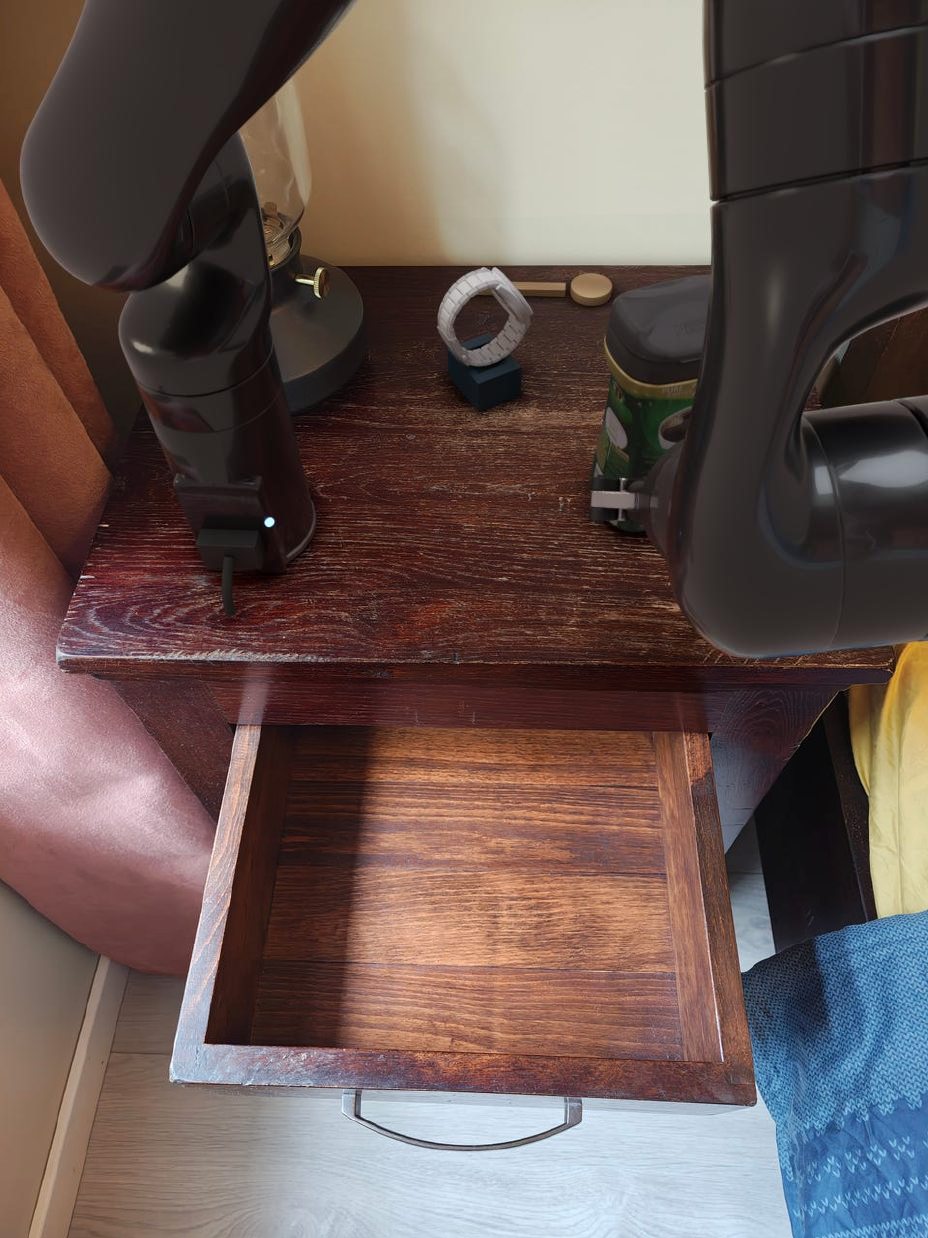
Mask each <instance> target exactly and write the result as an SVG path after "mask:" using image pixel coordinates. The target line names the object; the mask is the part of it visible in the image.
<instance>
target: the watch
mask: <svg viewBox="0 0 928 1238" xmlns="http://www.w3.org/2000/svg"><path fill="white" fill-rule="evenodd" d="M512 282H513V281H511V279H509V278H508V277H507V275H505V273H504V272H502V271H501V270H499V269H498V268H497V267H496V266H494V267H492V269H491V270H490V269H488V268H487V267H484V266H483V267H481V268H479V269H476V270H472V271H470V272H468V273H466V274H465V275H463V276H461V277H460V278H459V279H457V280H456V282H454V283H453V284H452V285H451V287H450V288H449V289H448V291H447V292H446V293H445V295H444V297H443V298H442V301H441V302H440V306H439V309H438V313H437V324H438V325H437V326H436V328H437V330H438V333H439V335H440V337H441V339H442V341H443V342H444V343H445V344H446V346H447V347H448V348H447V367H448V378H449V379H450V380H451V382H453V384H454V385H455V387H457V388H458V390H459V391H460V392H461V393H462V394H463V395H464V396H465V398H466V399H467V401H468V402H470V404H471V405H472V406H473V407H474V409H475V410H476V411H477V412H478V413H481V412H482V411H483V412H484V411H486V410H488V409H491V408H493V407H496V406H498V405H500V404H503V403H506V402H508V401H511V400H513V399H516V398H519V397H521V396H522V375H523V374H522V371H523V370H522V369H523V367H522V365H521V364H520V363H519V362H518V361H517V360H516V359H515V358H514V357H513V356H512V355H511V352H513V351H514V350H515V349H516V348H517V347H518V345H519V343H520V342H521V341H522V340H523V338H524V336H525V334H526V332H527V330H528V329H529V328H530V326H531V318H530V317H531V316H532V315H533V314H534V312H533V309H532V308H531V306H530V304H529V303H528V300H526V298H525V296H522V294H521V293H520V292H519V291H518V289H517V288H516V287H515V286H514V285H513V284H512ZM486 289H489V290H490V292H491V293H492V294H493V295H492V296H493V297H494V298H495V299H496V301H497V302H498V303H499V304H500V306H501V307H502V308H503V309H504V310H505V311H506V312H507V313H508V315H509V316H508V320H507V321H506V323H505V325H504V326H503V329H502V330H501V331H500V332H499V333H498V335H497V336H496V337H494V335H493V334H491V332H488V333H485V334H483V335H479V336H477V337H474V338H472V339H469V340H466V341H464V342H460V341H459V339H458V338H457V337H456V336H457V335H456V333H455V328H454V323H455V320H456V318H457V315H458V314H459V313H460V311H461V309H462V308H463V306H465V305H466V304H467V303H468V302H469V301H470V300H471V298H474V297H475V296H477V295H476V294H478V293H479V291H480V292H481V291H483V290H486Z"/></svg>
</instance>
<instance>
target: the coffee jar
mask: <svg viewBox="0 0 928 1238" xmlns="http://www.w3.org/2000/svg"><path fill="white" fill-rule="evenodd" d="M709 289H710V274H699V275H698V274H697V275H691V276H684V277H680V278H675V279H670V280H666V281H662V282H657V283H653V284H650V285H645V286H642V287H639V288H633V289H630V290H627V291H625V292H623V293H621V294H619V295H618V296H617V297H616V298H615V299H614V300H613V302H612V305H611V308H610V312H609V314H608V315H609V319H608V322H607V326H606V327H607V328H606V331H605V335H604V339H603V351H604V357H605V360H606V364H607V367H608V371H609V372H610V373H609V375H610V376H609V386H608V394H607V399H606V404H605V407H604V413H603V418H602V423H601V426H600V430H599V435H598V437H597V443H596V447H595V451H594V455H593V459H592V464H591V470H590V474H589V487H590V486H591V477H597V475H606V478H639V479H642V476H648V474H649V473H650V471H651V469H652V468H653V466H654V465H655V463H656V462H657V460H658V459H659V458H660V457H661V456H662V455H663V454H664V453H665V452H666V451H667V450H668V449H669V448H670V447H672V446H673V445H674V444H676V443H677V442H679V441H681V440H683V439H684V438H685V434H686V430H687V426H688V422H689V418H690V413H691V408H692V403H693V399H694V394H695V389H696V384H697V379H698V373H699V367H700V360H701V354H702V347H703V341H704V334H705V327H706V319H707V311H708V300H709ZM607 522H608V523H609V524H610V525H612V526H613V527H615V528H617V529H619V530H622V531H623V532H629V533H642V532H646V531H645V529H644V526H643V523H642V522H638V521H634V520H625V521H607Z"/></svg>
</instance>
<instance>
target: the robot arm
mask: <svg viewBox="0 0 928 1238" xmlns="http://www.w3.org/2000/svg"><path fill="white" fill-rule="evenodd" d="M359 1H360V0H85V1H84V5H83V8H82V11H81V13H80V17H79V19H78V22H77V25H76V28H75V30H74V33H73V35H72V38H71V39H70V42H69V44H68V47H67V49H66V51H65V52H64V53H65V54H64V56H63V58H62V60H61V62H60V63H59V66H58V68H57V71H56V73H55V74H54V77H53V79H52V81H51V82H50V85H49V87H48V88H47V91H46V93H45V95H44V97H43V99H42V101H41V103H40V104H39V107H38V108H37V110H36V112H35V114H34V116H33V118H32V120H31V122H30V125H29V126H28V129H27V131H26V133H25V136H24V139H23V142H22V146H21V150H20V151H21V152H20V156H19V157H20V158H19V179H20V189H21V193H22V198H23V202H24V205H25V208H26V211H27V214H28V217H29V219H30V222H31V225H32V227H33V229H34V231H35V233H36V235H37V237H38V238H39V240H40V241H41V243H42V245H43V246H44V247H45V249H46V250H47V252H48V253H49V255H51V257H52V258H53V259H54V260H55V262H57V263H58V264H59V266H61V267H62V268H63V269H64V270H65V271H67V273H69V274H70V275H71V276H73V277H74V278H76V279H78V280H79V281H80V282H83V283H84V284H86V285H88V286H90V287H92V288H95V289H97V290H101V291H104V292H108V293H109V292H110V293H115V294H129V296H128V298H127V300H126V302H125V304H124V306H123V308H122V311H121V314H120V316H119V321H118V339H119V344H120V347H121V349H122V352H123V355H124V358H125V360H126V363H127V365H128V368H129V371H130V373H131V374H132V376H133V379H134V381H135V384H136V387H137V389H138V391H139V394H140V397H141V399H142V400H143V405H144V407H145V409H146V412H147V414H148V417H149V420H150V421H151V424H152V427H153V430H154V432H155V434H156V437H157V439H158V442H159V444H160V447H161V449H162V452H163V454H164V457H165V459H166V463H167V464H168V467H169V469H170V472H171V474H172V477H173V482H172V487H173V490H174V492H175V495H176V497H177V500H178V503H179V504H180V507H181V510H182V512H183V515H184V517H185V519H186V522H187V525H188V527H189V529H190V532H191V534H192V537H193V539H194V542H195V547H196V549H197V552H198V554H199V557H200V558H201V559H200V560H201V561H202V564H203V566H204V567H205V568H206V570H207V571H211V572H213V571H214V572H215V571H216V572H218V571H219V572H221V585H220V587H221V588H220V589H221V599H222V605H223V610H224V613H225V616H227V617H233V616H235V615H236V614H237V612H236V606H235V603H234V602H235V601H234V596H233V581H234V580H233V578H234V573H235V572H237V573H261V574H262V573H263V574H285V572H286V571H287V567H288V564H289V562H290V561H292V560H293V559H296V557H298V556H299V555H301V553H302V552H303V551H304V550H305V549H306V548H307V547H308V546H309V544H310V543H311V541H312V539H313V537H314V536H315V533H316V530H317V523H318V522H317V520H318V519H317V513H316V509H315V505H314V502H313V500H312V498H311V493H310V489H309V485H308V481H307V477H306V473H305V468H304V465H303V460H302V456H301V452H300V447H299V444H298V439H297V434H296V431H295V428H294V423H293V418H292V414H291V410H290V406H289V402H288V398H287V393H286V390H285V386H284V382H283V376H282V373H281V372H282V371H281V369H280V364H279V359H278V355H277V351H276V348H275V347H276V346H275V343H274V337H273V334H272V333H273V332H272V329H271V324H270V321H271V314H272V311H273V306H274V297H275V296H274V295H275V289H274V280H273V274H272V268H271V262H270V256H269V249H268V244H267V238H266V232H265V231H266V230H265V226H264V220H263V215H262V214H263V213H262V208H261V202H260V196H259V191H258V185H257V182H256V178H255V174H254V169H253V166H252V162H251V159H250V156H249V153H248V150H247V147H246V145H245V141H244V140H243V137H242V134H241V132H240V130H241V129H242V127H243V126H244V125H246V124H247V123H248V122H249V121H250V120H251V119H252V118H254V116H255V115H256V114H257V113H258V112H259V111H260V110H261V109H262V108H263V107H264V106H265V105H266V104H267V103H268V102H269V101H270V100H271V99H273V97H275V95H276V94H277V93H278V92H279V91H280V90H281V89H283V87H284V86H286V84H287V83H288V82H289V81H290V80H291V79H293V77H294V76H295V75H296V74H297V73H298V72H299V71H300V69H302V68H303V66H304V65H305V64H306V63H307V62H308V61H309V60H310V59H311V58H312V57H313V55H314V54H315V53H316V52H317V51H318V50H319V49H320V47H321V46H322V45H323V44H324V43H325V42H326V41H327V40H328V39H329V37H330V36H331V35H332V34H333V33H334V32H335V30H337V29H338V27H339V26H340V25H341V24H342V22H344V21H345V19H346V18H347V16H348V15H349V14H350V13H351V11H352V10H353V9H354V8H355V6H356V5H357V4H358V3H359ZM701 3H702V4H701V54H702V77H703V78H702V79H703V90H704V91H705V92H704V112H705V129H706V130H705V133H706V150H707V172H708V173H707V174H708V191H709V192H708V193H709V200H710V201H711V202H715V203H713V204H711V206H709V218H710V219H709V220H710V222H709V223H710V273H709V275H710V289H709V300H708V311H707V319H706V327H705V334H704V341H703V347H702V354H701V360H700V367H699V373H698V379H697V384H696V389H695V394H694V399H693V403H692V408H691V413H690V418H689V422H688V426H687V430H686V434H685V438H684V439H683V440H681V441H679V442H677V443H676V444H674V445H673V446H672V447H670V448H669V449H668V450H667V451H666V452H665V453H664V454H663V455H662V456H661V457H660V458H659V459H658V460H657V462H656V463H655V465H654V466H653V468H652V469H651V471H650V473H649V474H648V476H642V479H639V478H606V475H597V477H591V486H589V500H588V501H589V503H588V507H589V509H588V510H589V511H588V520H589V521H594V523H595V524H604V523H605V522H608V521H625V520H634V521H638V522H642V523H643V526H644V529H645V531H644V532H645V534H646V535H647V538H648V540H649V542H650V544H651V545H652V547H653V548H654V550H656V552H657V553H658V554H659V556H661V558H663V559H664V560H665V565H666V571H667V577H668V581H669V585H670V589H671V593H672V594H673V597H674V599H675V601H676V604H677V606H678V608H679V610H680V612H681V614H682V615H683V617H684V618H685V619H686V621H687V622H688V624H689V625H690V627H691V628H692V629H693V630H694V631H695V633H696V634H697V635H699V636H700V637H701V638H702V639H703V640H704V641H705V642H706V643H707V644H708V645H710V646H711V647H712V648H714V649H716V650H718V651H720V652H722V653H723V654H725V655H728V656H730V657H734V658H739V659H745V660H746V659H747V660H772V659H773V660H774V659H782V658H784V659H785V658H791V657H801V656H809V655H810V656H811V655H816V654H821V653H824V654H825V653H834V652H844V651H850V650H858V649H867V648H874V647H883V646H892V645H900V644H906V643H916V642H918V643H922V642H928V394H923V395H922V394H921V395H916V396H909V397H908V396H907V397H901V398H894V399H891V400H879V401H871V402H865V403H859V404H853V405H852V404H851V405H843V406H837V407H831V408H823V409H816V410H810V411H809V410H808V411H805V408H806V406H807V403H808V400H809V399H810V396H811V394H812V392H813V390H814V388H815V386H816V384H817V382H818V380H819V379H820V377H821V376H822V373H823V372H824V370H825V369H826V367H827V366H828V364H829V363H830V361H831V359H832V358H833V357H834V356H835V355H836V354H837V352H838V351H839V350H841V348H842V347H843V346H844V345H846V344H847V343H848V342H849V341H852V340H854V339H855V338H857V337H859V336H860V335H863V334H865V332H868V331H869V330H871V329H873V328H876V327H878V326H881V325H883V324H885V323H887V322H890V321H892V320H893V321H894V320H895V319H899V318H901V317H903V316H907V315H910V314H913V313H915V312H917V311H920V310H923V309H925V308H928V0H702V2H701Z"/></svg>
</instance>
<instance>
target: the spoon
mask: <svg viewBox="0 0 928 1238" xmlns="http://www.w3.org/2000/svg"><path fill="white" fill-rule="evenodd" d="M511 282H512V284H513V285H514V286H515V287H516V288H517V289H518V291H519V292H520V293H521V294H522V296H523V297H552V298H553V297H554V298H556V297H557V298H565V297H566V292H567V291H566V290H567V289H566V288H567V287H566V286H567V283H566V282H544V281H543V282H537V281H536V282H535V281H534V282H533V281H511ZM569 293H570V295H569V296H570V297H571V299H572V300H573V301H574V302H576V303H577V304H579V305H582V306H586V307H597V306H602V305H603V304H606V303H607V302H608V301H609V300H610V299H611V297H612V293H613V284H612V281H611V280H610V279H609V278H608V277H607V276H604V275H602V274H599V273H593V272H591V273H590V272H589V273H583V274H580V275H577V276H575V277H574V278H573V279H572V280H571V283H570V292H569ZM475 296H493V294H492V293H491V292H490V290H489V289H486V290H483V291H481V292H480V291H479V293H478V294H476V295H475Z"/></svg>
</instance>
